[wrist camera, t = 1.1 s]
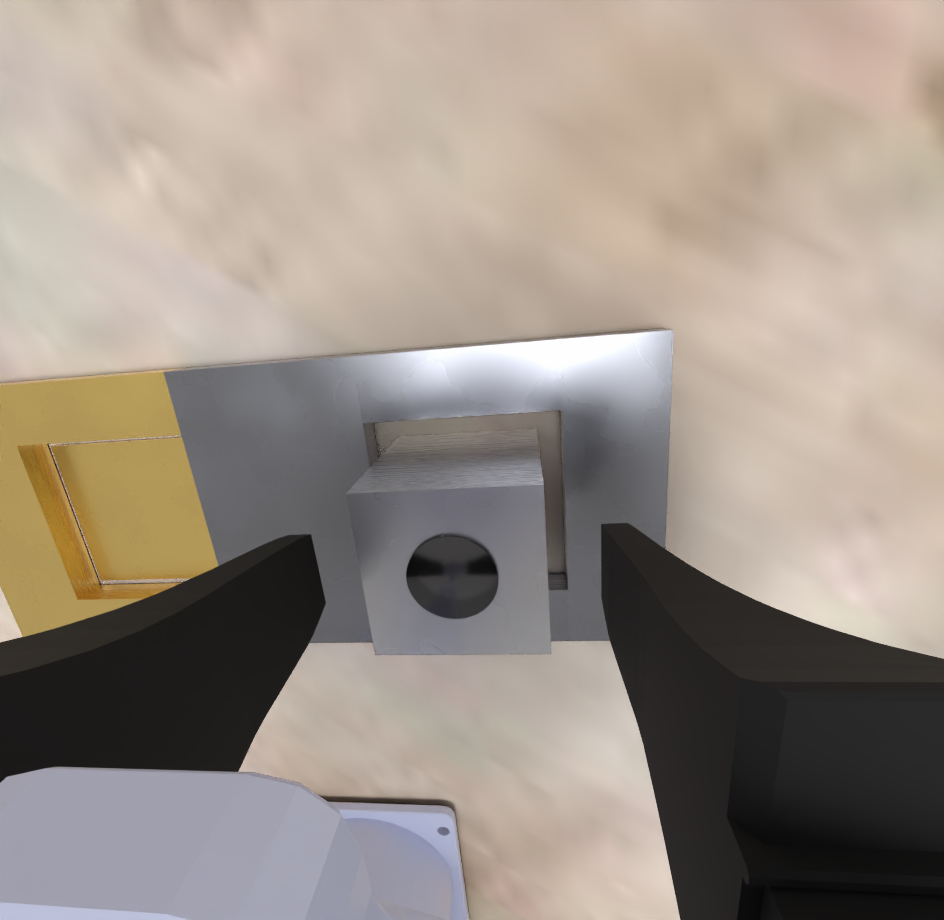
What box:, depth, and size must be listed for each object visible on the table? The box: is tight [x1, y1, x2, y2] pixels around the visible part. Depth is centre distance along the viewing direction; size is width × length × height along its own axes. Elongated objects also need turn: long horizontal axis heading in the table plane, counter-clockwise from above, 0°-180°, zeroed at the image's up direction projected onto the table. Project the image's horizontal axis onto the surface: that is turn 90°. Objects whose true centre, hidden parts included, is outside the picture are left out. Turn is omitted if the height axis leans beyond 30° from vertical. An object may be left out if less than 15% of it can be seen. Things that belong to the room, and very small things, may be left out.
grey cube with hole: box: [346, 428, 551, 655], centre depth 14 cm, size 4×4×5 cm
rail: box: [0, 328, 674, 643], centre depth 16 cm, size 10×24×1 cm, turn 95°
